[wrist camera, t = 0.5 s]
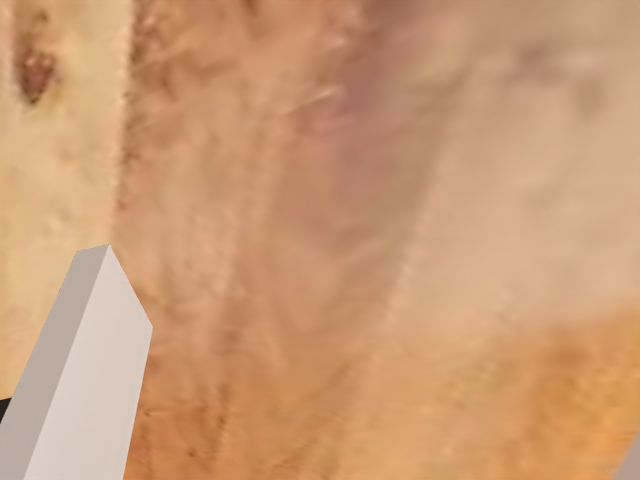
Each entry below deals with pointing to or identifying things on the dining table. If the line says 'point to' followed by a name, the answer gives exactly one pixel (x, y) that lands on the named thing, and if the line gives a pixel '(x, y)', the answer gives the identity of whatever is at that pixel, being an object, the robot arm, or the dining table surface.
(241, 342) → the dining table surface
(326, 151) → the dining table surface
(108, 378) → the robot arm
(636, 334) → the dining table surface
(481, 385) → the dining table surface
